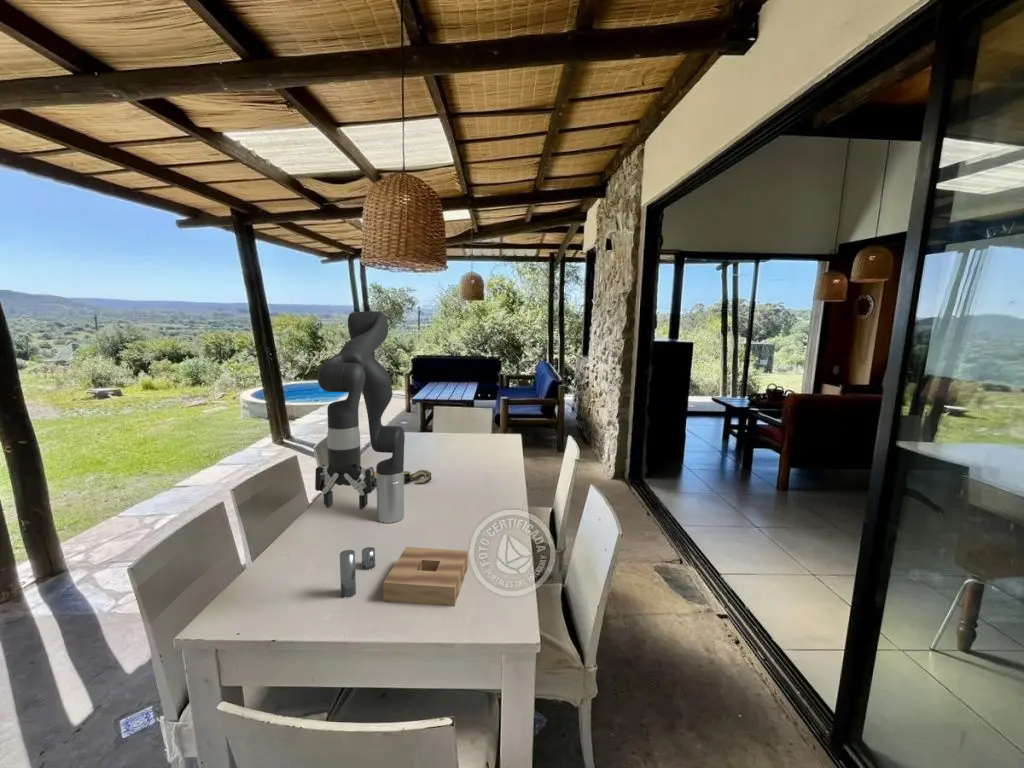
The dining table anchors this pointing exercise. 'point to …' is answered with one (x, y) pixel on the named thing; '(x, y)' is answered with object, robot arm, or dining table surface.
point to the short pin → (368, 558)
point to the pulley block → (412, 476)
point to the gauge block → (427, 576)
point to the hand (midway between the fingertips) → (345, 507)
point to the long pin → (347, 573)
